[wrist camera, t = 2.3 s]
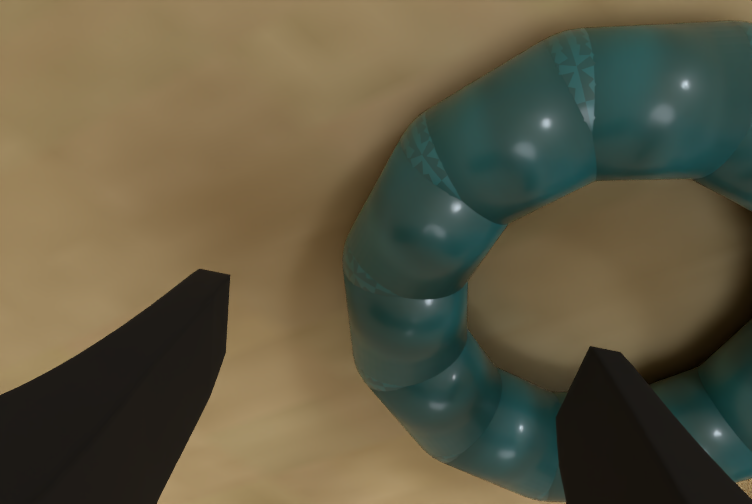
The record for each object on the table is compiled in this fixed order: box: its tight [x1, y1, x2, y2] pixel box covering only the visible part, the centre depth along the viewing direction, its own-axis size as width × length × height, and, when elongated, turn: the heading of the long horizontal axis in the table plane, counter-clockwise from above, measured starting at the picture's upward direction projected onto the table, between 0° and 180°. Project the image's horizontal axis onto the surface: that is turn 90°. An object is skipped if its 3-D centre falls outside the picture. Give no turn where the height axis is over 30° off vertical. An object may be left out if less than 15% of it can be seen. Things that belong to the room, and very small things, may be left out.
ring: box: [342, 21, 752, 502], centre depth 15 cm, size 13×13×3 cm
